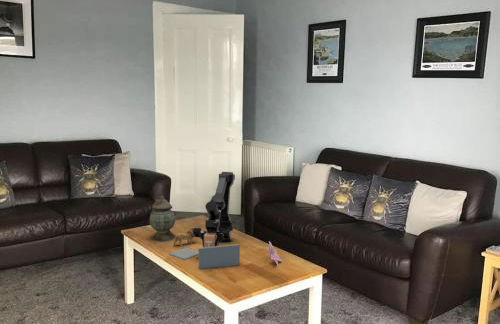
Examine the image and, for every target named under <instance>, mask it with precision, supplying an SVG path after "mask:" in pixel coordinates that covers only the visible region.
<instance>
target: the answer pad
mask: <svg viewBox="0 0 500 324" xmlns="http://www.w3.org/2000/svg"><path fill="white" fill-rule="evenodd" d="M168 255H170V256H172V257H174V258H175V257H176V258H178V259H181V260H184V261H185V260H188V259H191V258H194V257H196V256H199V250H195V249H192V248H189V247H184V248H180V249H177V250H175V251H172V252H169V253H168Z"/></svg>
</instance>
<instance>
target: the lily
mask: <svg viewBox="0 0 500 324" xmlns="http://www.w3.org/2000/svg"><path fill="white" fill-rule="evenodd" d="M268 243H269V246H265V248H266V250H267V251H268V252H269V256H268V258H270V259H271V260H274V262H275V263H276V265H277V266H279V263H278V262H279V261H280V262H283V260H282V258H281V256H280V255H279V254H278V253H277V249H275V248H274V246H273V245H272V242H271V241H268ZM268 258H266V259H265V260H264V262H266V261H267V259H268Z"/></svg>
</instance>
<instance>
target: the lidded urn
mask: <svg viewBox="0 0 500 324" xmlns="http://www.w3.org/2000/svg"><path fill="white" fill-rule="evenodd" d="M172 209H173V206H172V204H171V203H169V201H168V199H165V196H164V195H160V196H159V198H158V199H156V200H155V201H154V203H153V204H152V205H151V212H150V216H149V225H150V227H151V228H152V229H153V230H155V231H156V232H155V233H154V234H153V235H152V236H151V238H152V240H153V241H156V242H170V241H173V240H175V237H176V234H174V233H173V232H171V229H172V228H173V227H174V226H175V223H176V216H175V214H174V211H173V210H172Z"/></svg>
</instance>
